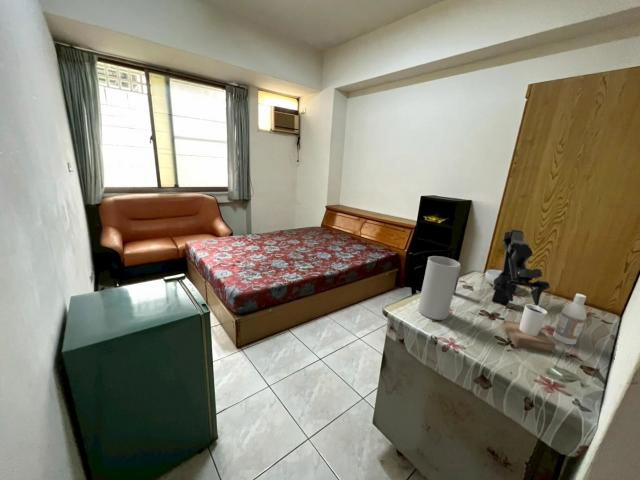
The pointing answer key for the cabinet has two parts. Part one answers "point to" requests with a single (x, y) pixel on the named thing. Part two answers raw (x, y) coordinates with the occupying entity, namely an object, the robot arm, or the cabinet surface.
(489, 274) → the cereal bowl
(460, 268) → the container
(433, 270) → the cylinder vase
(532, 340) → the walnut block
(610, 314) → the cabinet surface
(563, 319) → the bath foam
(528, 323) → the white cup
